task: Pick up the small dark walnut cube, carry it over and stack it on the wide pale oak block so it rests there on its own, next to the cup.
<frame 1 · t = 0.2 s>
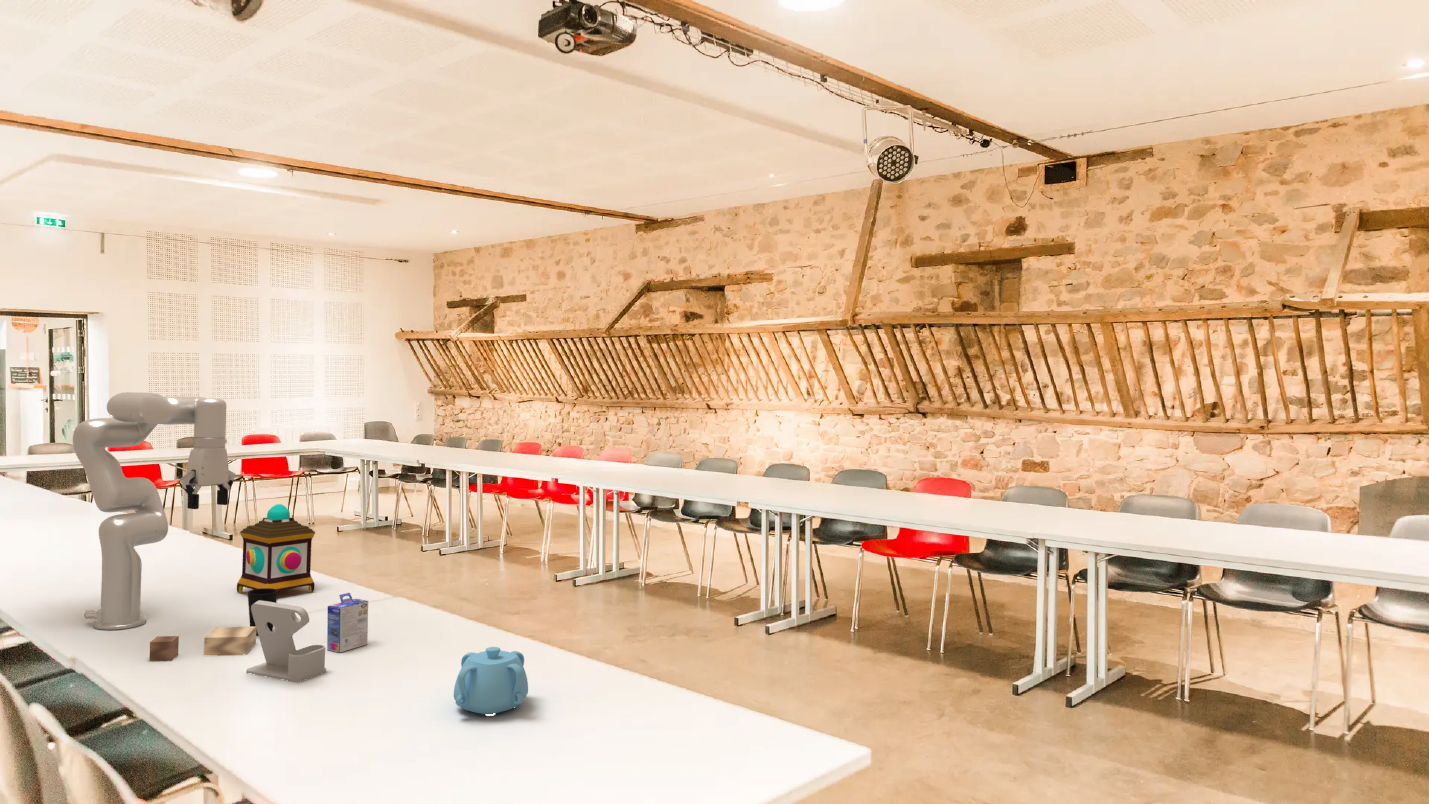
hand: (207, 506, 243), 37 cm above the table, tool pointing down, fingers open, 9 cm apart
phone holder: (286, 673, 221), on the table
decorative pot: (490, 708, 203), on the table
walnut cube: (163, 658, 228), on the table
oak block: (230, 650, 237), on the table
cup: (261, 634, 252), on the table
ink cartridge box: (347, 648, 243), on the table
decorative lantern: (275, 593, 299), on the table
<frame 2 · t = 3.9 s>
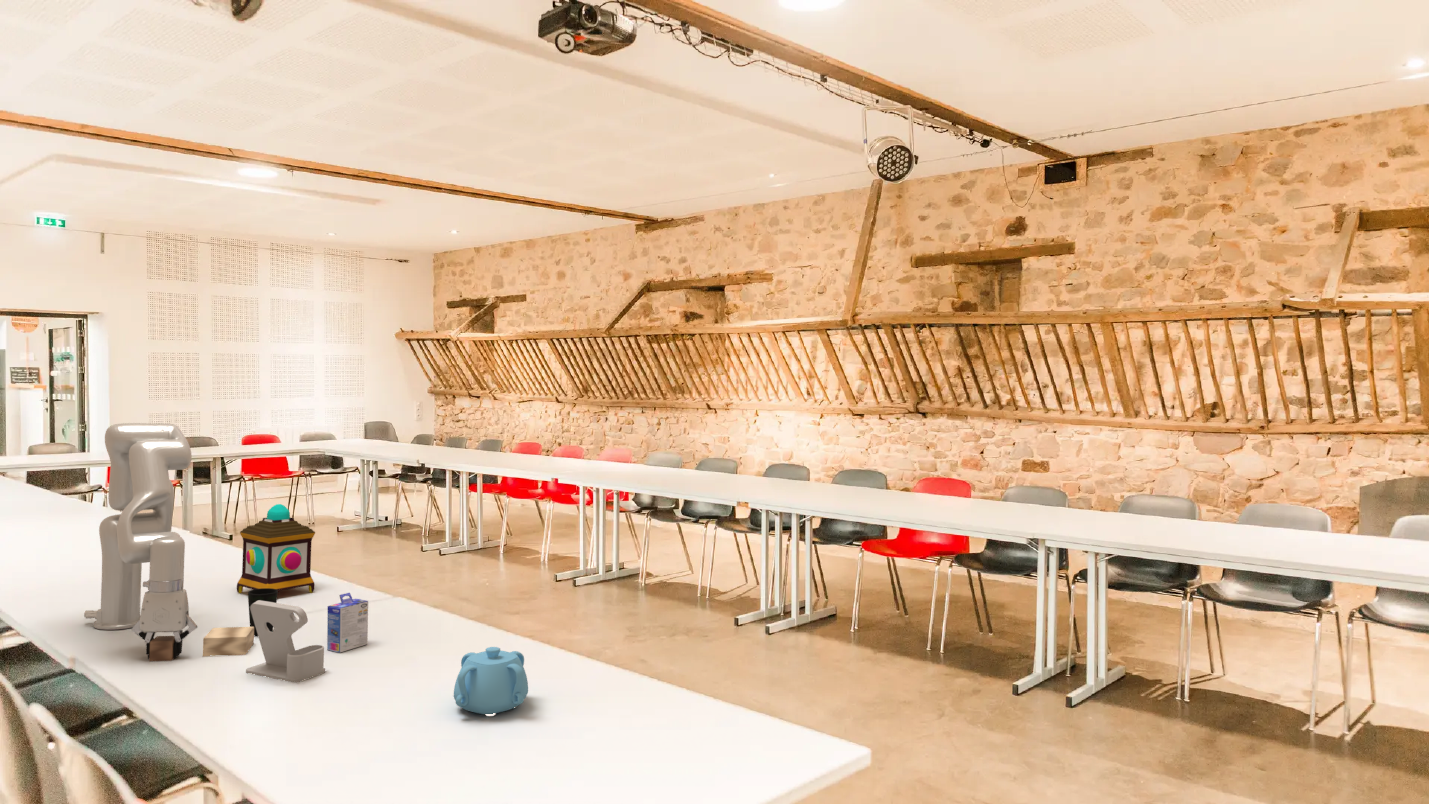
hand: (164, 656, 228), 0 cm above the table, tool pointing down, fingers closed on walnut cube, 5 cm apart
walnut cube: (163, 658, 228), on the table, touching gripper
everything else where it was.
when the fingers open (6 cm above the table, at t = 9.5 s): walnut cube drops 1 cm, point 5 cm above the table.
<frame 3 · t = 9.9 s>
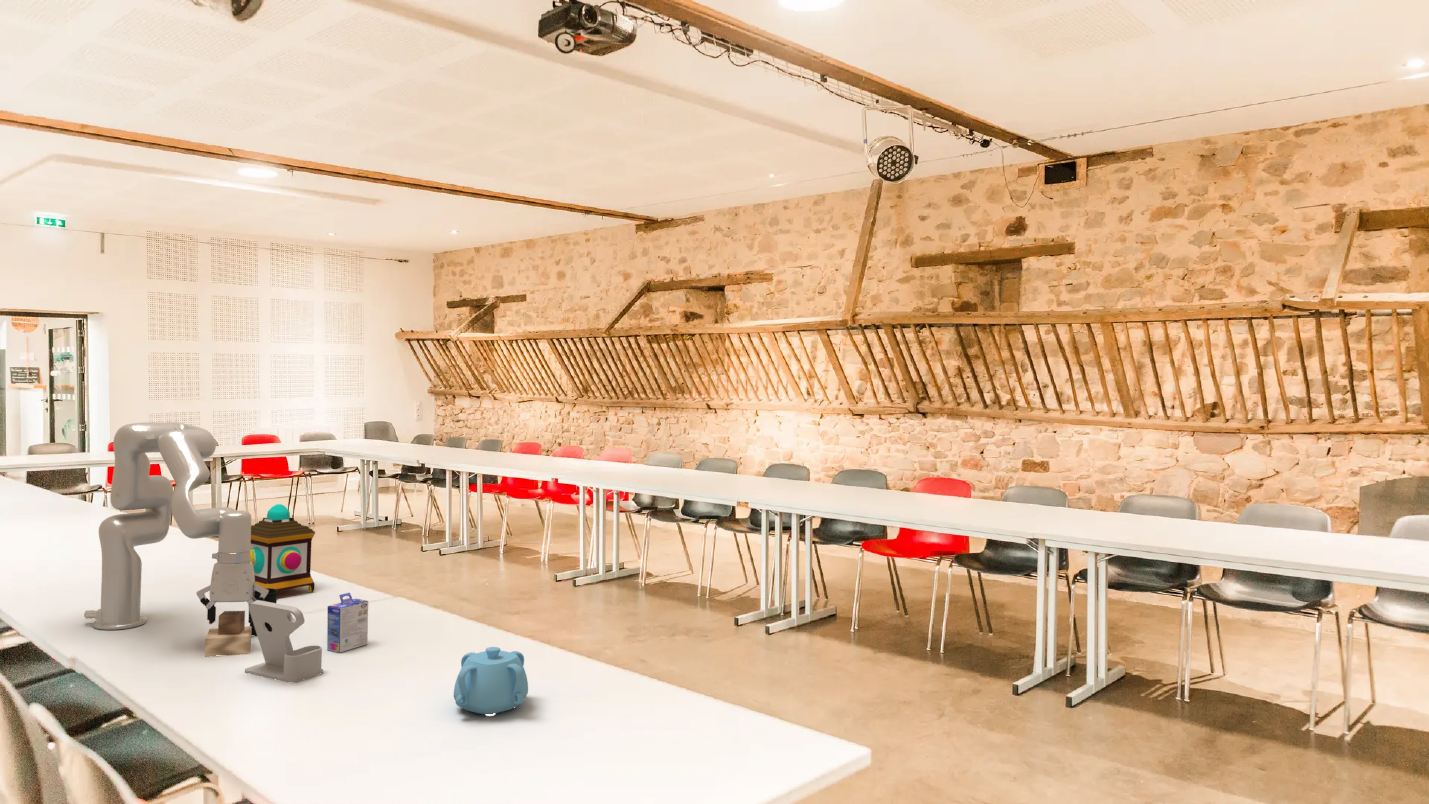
hand: (231, 622, 237), 7 cm above the table, tool pointing down, fingers open, 9 cm apart
walnut cube: (231, 632, 237), point 5 cm above the table
everything else where it was.
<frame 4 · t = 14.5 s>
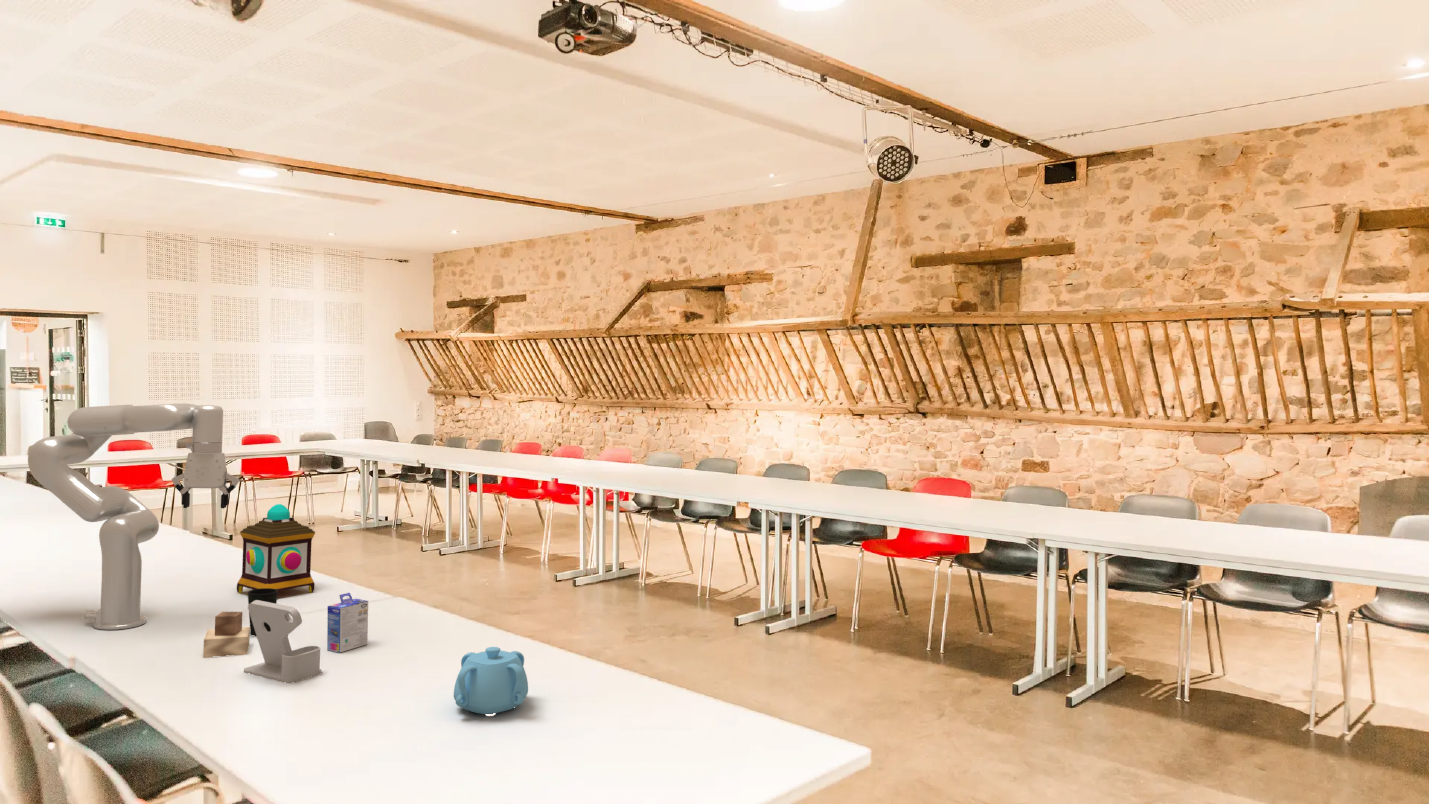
hand: (205, 507, 256), 34 cm above the table, tool pointing down, fingers open, 9 cm apart
walnut cube: (228, 632, 236), point 5 cm above the table, touching oak block
oak block: (226, 651, 236), on the table, touching walnut cube
everything else where it was.
at the end: walnut cube inside the target area on the oak block (0.2 cm from its centre), point 5.0 cm above the oak block's base; walnut cube tilted 0°; the gripper is holding nothing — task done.
